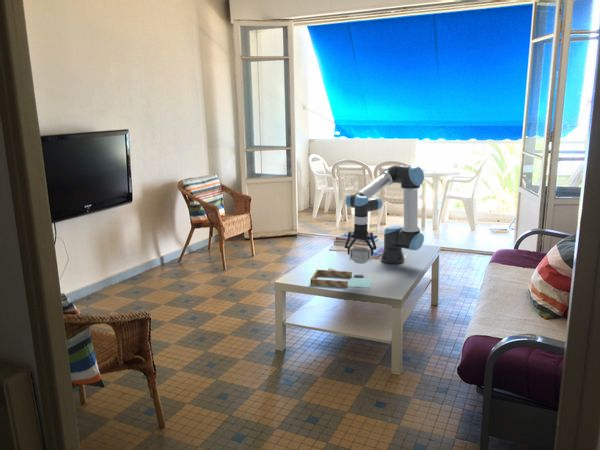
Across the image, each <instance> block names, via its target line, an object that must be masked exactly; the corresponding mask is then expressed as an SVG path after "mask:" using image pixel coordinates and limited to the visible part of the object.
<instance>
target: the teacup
mask: <svg viewBox="0 0 600 450" xmlns="http://www.w3.org/2000/svg"><path fill="white" fill-rule="evenodd" d="M369 254H370V248H365V247H351V261H353V262H354V263H355V264H361V265H362V264H363V265H364V264H366V263H367V262H369Z"/></svg>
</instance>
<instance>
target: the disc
mask: <svg viewBox="0 0 600 450" xmlns="http://www.w3.org/2000/svg"><path fill="white" fill-rule="evenodd" d="M353 278H365V276H364V275H363V274H354V275H353Z"/></svg>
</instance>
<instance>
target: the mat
mask: <svg viewBox="0 0 600 450" xmlns="http://www.w3.org/2000/svg"><path fill="white" fill-rule="evenodd" d="M372 282H373V278H365V277H363V278H355V277H352V278H349V280H348V287H350V288H361V289H363V288H364V289H365V288H366V289H371V286H372ZM348 287H347V288H348Z"/></svg>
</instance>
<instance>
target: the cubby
mask: <svg viewBox="0 0 600 450" xmlns="http://www.w3.org/2000/svg"><path fill="white" fill-rule="evenodd" d="M333 270H334V269H333ZM333 270H328V269H316V270H315V272H314V273H313V275H312V277H311V278H310V286H321V287H334V288H335V287H336V288H348V283H349V280H337V279H335V280H334V279H323V278H321V279H319V278H318V277H319V276H321V277H332V278H333V277H337V278H349V279H350V278H353V271H347V270H336V271H333Z"/></svg>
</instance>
